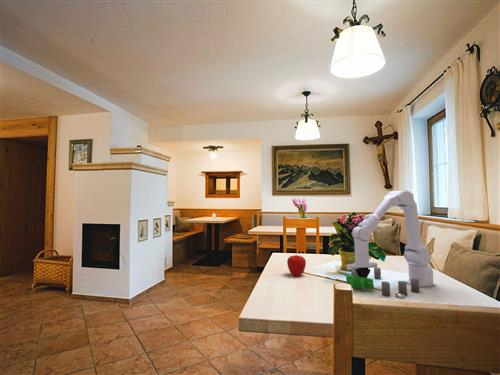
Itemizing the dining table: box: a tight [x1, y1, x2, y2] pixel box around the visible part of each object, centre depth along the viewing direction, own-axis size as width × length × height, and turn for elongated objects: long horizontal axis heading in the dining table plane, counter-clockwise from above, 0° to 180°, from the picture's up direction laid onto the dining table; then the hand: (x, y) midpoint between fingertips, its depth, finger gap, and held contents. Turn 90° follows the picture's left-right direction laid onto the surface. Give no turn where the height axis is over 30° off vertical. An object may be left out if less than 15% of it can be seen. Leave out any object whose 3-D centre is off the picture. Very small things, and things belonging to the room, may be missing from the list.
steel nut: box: [394, 292, 406, 299], centre depth 105 cm, size 3×3×1 cm
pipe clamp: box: [345, 274, 375, 292], centre depth 115 cm, size 11×4×5 cm, turn 49°
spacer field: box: [350, 267, 421, 297], centre depth 119 cm, size 18×25×5 cm
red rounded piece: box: [286, 254, 307, 277], centre depth 139 cm, size 10×10×11 cm
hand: (362, 285), depth 117 cm, fingers closed, pressing on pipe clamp
